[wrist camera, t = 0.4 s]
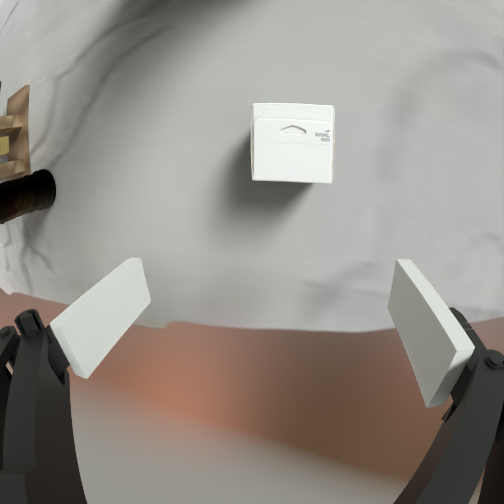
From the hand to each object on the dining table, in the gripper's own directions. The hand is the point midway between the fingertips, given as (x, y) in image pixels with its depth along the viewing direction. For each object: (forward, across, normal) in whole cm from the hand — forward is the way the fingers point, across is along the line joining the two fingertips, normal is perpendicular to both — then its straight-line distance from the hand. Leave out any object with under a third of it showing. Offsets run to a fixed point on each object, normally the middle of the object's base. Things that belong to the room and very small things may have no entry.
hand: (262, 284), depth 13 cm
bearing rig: (+28, -61, +21) cm, 70 cm away
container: (+28, -51, +6) cm, 58 cm away
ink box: (+28, +1, +7) cm, 29 cm away
